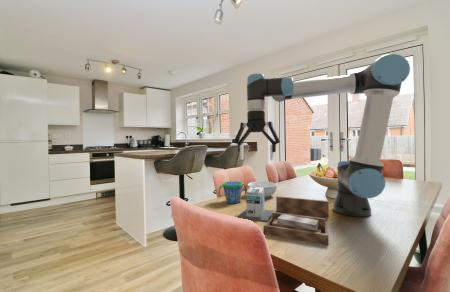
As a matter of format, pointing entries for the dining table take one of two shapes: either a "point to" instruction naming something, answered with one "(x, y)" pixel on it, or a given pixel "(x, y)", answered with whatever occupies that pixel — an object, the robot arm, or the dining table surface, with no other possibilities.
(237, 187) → the snack cup
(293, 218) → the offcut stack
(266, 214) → the mat
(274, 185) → the cereal bowl
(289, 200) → the open wooden box
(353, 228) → the dining table surface
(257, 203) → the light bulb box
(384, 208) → the dining table surface
